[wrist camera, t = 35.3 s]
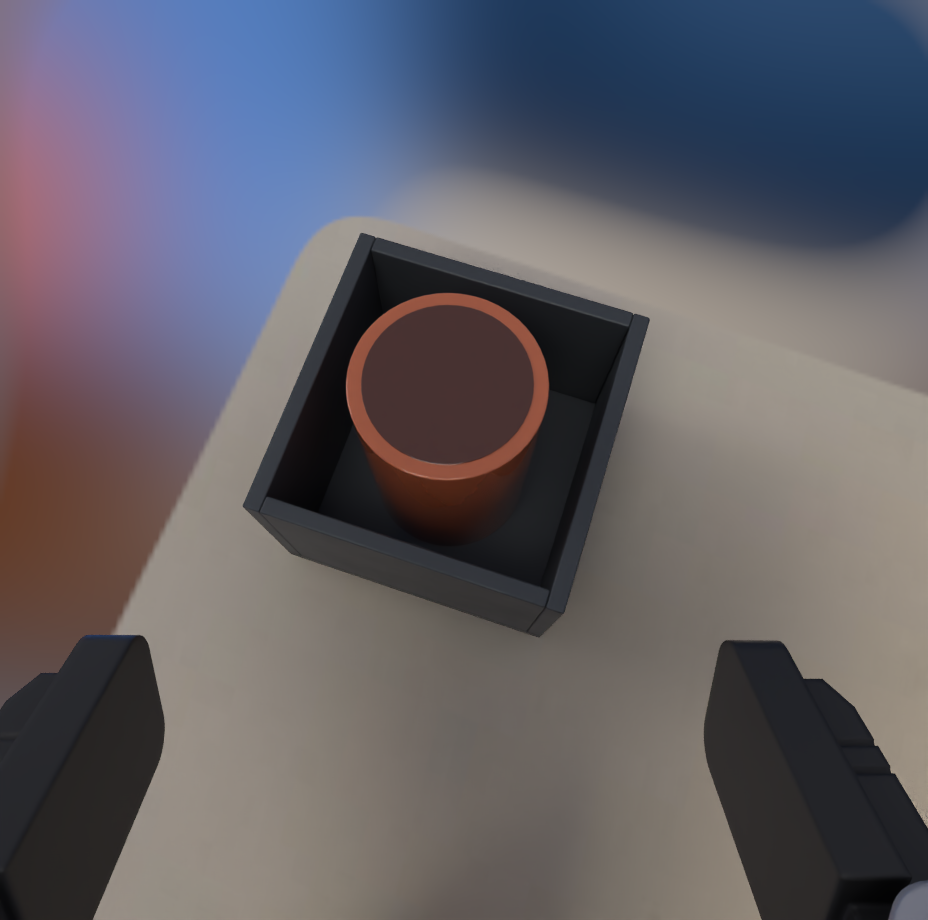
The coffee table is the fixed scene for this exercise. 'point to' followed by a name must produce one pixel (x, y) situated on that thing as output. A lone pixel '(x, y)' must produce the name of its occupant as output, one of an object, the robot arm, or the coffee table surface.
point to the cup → (448, 413)
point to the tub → (549, 477)
